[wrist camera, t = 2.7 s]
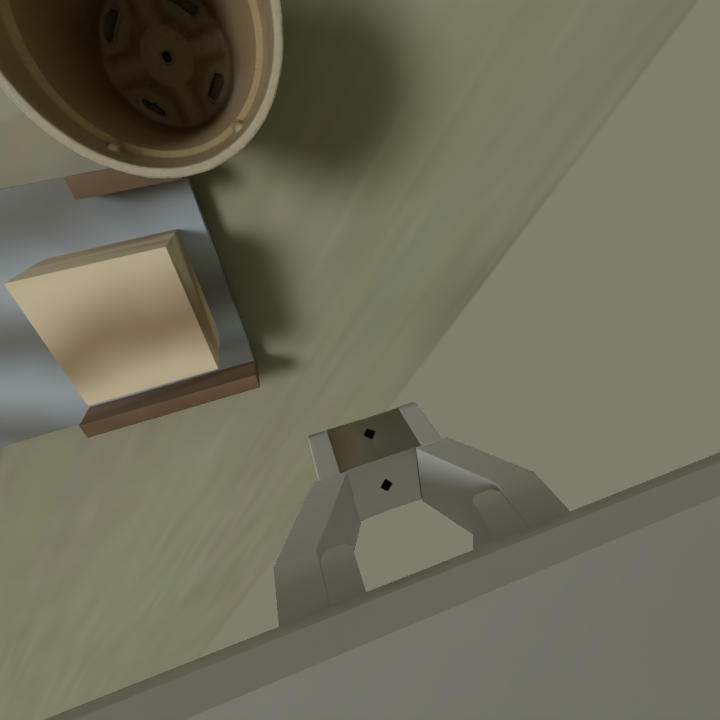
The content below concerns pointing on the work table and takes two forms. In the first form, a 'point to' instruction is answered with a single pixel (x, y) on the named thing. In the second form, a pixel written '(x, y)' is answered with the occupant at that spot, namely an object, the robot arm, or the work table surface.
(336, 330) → the work table surface
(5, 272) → the channel
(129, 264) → the beech block
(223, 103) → the flower pot
